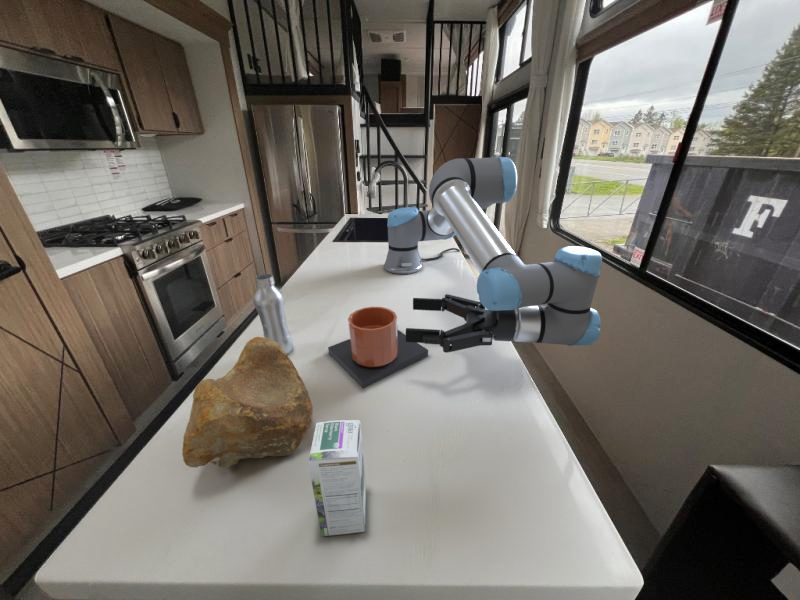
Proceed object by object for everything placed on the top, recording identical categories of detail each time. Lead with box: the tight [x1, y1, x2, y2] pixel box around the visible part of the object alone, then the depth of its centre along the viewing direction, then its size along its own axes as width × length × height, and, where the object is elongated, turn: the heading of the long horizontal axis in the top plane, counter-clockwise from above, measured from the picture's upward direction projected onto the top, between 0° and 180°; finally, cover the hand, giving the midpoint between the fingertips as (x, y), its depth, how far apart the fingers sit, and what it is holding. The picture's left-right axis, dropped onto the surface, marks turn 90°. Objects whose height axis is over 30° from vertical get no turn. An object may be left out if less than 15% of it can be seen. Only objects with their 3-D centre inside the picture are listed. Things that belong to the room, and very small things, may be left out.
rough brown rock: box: [181, 336, 313, 470], centre depth 54 cm, size 23×17×15 cm
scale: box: [327, 325, 429, 390], centre depth 77 cm, size 18×16×4 cm
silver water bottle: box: [252, 273, 294, 355], centre depth 75 cm, size 6×7×20 cm
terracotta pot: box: [347, 306, 398, 367], centre depth 72 cm, size 10×10×10 cm
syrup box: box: [307, 419, 367, 537], centre depth 41 cm, size 6×6×14 cm
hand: (409, 317), depth 69 cm, fingers open, 13 cm apart
